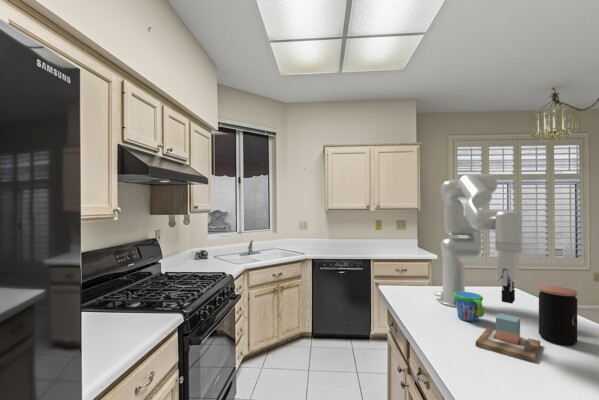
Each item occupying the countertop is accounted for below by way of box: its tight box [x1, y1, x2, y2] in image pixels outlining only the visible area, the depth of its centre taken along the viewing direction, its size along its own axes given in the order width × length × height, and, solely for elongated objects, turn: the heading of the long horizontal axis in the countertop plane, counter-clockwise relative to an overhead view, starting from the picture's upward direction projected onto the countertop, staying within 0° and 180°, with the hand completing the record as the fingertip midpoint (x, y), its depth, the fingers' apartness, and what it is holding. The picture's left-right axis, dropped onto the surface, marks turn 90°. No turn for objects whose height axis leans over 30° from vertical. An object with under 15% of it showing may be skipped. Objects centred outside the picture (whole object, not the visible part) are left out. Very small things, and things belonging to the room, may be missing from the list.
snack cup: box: [454, 291, 485, 322], centre depth 131 cm, size 16×10×10 cm
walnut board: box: [475, 327, 541, 363], centre depth 106 cm, size 16×16×2 cm
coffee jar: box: [538, 285, 578, 347], centre depth 112 cm, size 11×11×18 cm
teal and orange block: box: [495, 313, 521, 345], centre depth 107 cm, size 6×6×8 cm
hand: (508, 301), depth 107 cm, fingers closed
